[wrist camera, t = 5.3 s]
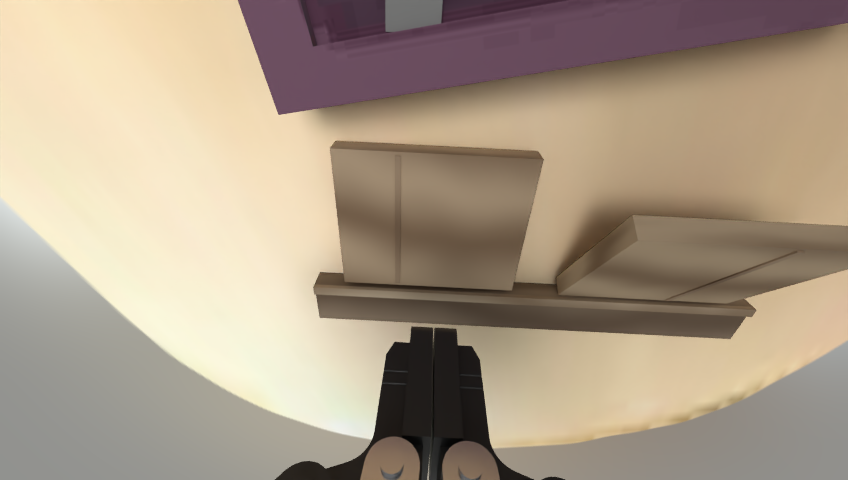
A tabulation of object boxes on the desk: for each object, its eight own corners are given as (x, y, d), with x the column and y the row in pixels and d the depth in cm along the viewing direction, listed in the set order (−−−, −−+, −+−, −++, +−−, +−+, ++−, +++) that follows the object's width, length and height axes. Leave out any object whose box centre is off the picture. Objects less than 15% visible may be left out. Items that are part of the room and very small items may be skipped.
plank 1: (335, 140, 19) (329, 148, 18) (538, 151, 19) (543, 159, 18) (348, 270, 24) (344, 282, 23) (508, 278, 24) (512, 291, 23)
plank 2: (632, 214, 15) (638, 242, 15) (887, 227, 15) (902, 255, 15) (556, 277, 23) (558, 296, 23) (721, 285, 23) (726, 304, 23)
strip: (320, 272, 24) (313, 287, 23) (738, 294, 24) (756, 309, 23) (324, 305, 26) (318, 320, 24) (717, 325, 26) (733, 342, 24)
